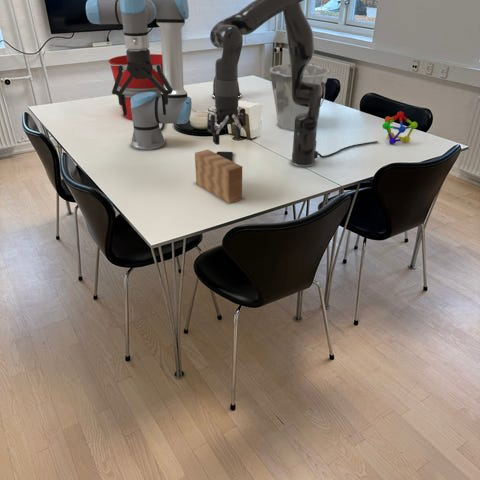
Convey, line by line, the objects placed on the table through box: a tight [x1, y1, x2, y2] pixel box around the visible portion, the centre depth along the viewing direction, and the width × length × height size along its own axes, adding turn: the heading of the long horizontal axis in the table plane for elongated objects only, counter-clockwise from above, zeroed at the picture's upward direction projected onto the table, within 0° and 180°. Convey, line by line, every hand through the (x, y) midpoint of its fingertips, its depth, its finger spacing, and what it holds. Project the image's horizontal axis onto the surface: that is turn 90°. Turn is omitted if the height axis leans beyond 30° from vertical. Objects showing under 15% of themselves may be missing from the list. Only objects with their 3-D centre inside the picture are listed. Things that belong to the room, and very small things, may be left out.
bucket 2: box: [269, 63, 330, 131], centre depth 226 cm, size 30×30×28 cm
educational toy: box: [382, 110, 418, 145], centre depth 207 cm, size 16×13×15 cm
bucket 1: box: [105, 53, 164, 121], centre depth 241 cm, size 35×35×30 cm
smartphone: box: [216, 151, 234, 162], centre depth 191 cm, size 7×1×15 cm
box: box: [194, 149, 243, 204], centre depth 162 cm, size 21×6×12 cm, turn 38°
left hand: (145, 114), depth 155 cm, fingers open, 13 cm apart
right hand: (227, 141), depth 150 cm, fingers open, 8 cm apart
